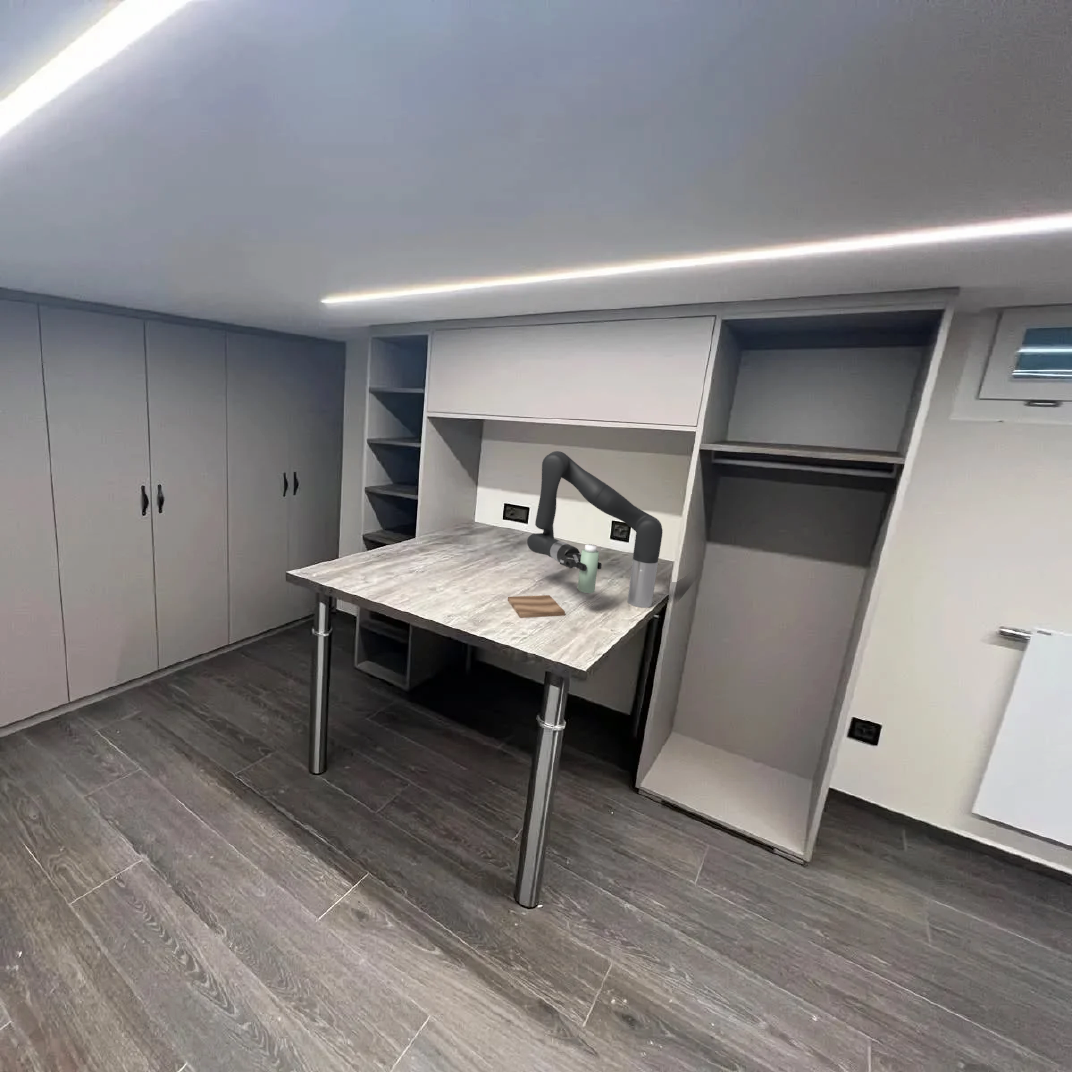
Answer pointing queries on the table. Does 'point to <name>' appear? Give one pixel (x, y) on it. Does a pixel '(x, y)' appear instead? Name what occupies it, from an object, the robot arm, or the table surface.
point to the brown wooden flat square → (535, 606)
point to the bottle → (588, 569)
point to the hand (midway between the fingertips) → (593, 567)
